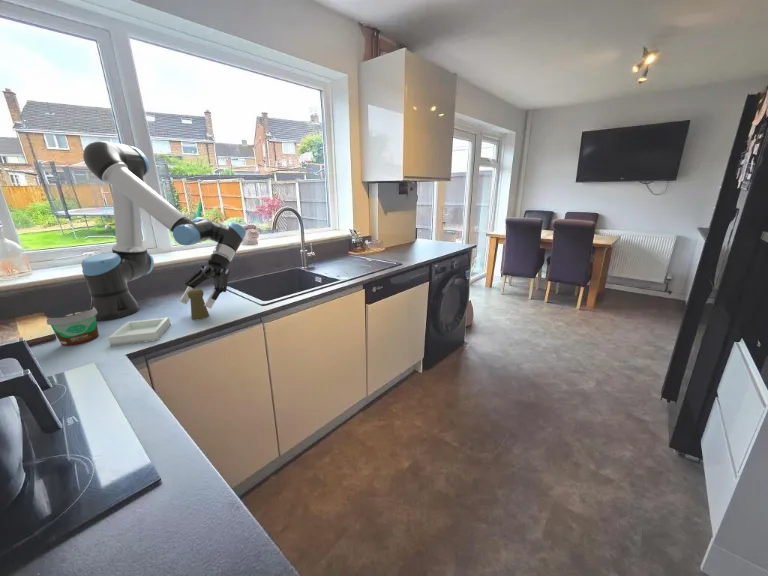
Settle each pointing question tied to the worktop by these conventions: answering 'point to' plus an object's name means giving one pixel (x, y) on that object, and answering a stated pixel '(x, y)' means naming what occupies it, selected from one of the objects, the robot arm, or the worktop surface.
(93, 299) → the robot arm
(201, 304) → the pepper mill
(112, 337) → the tray
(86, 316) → the food container
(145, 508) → the worktop surface
